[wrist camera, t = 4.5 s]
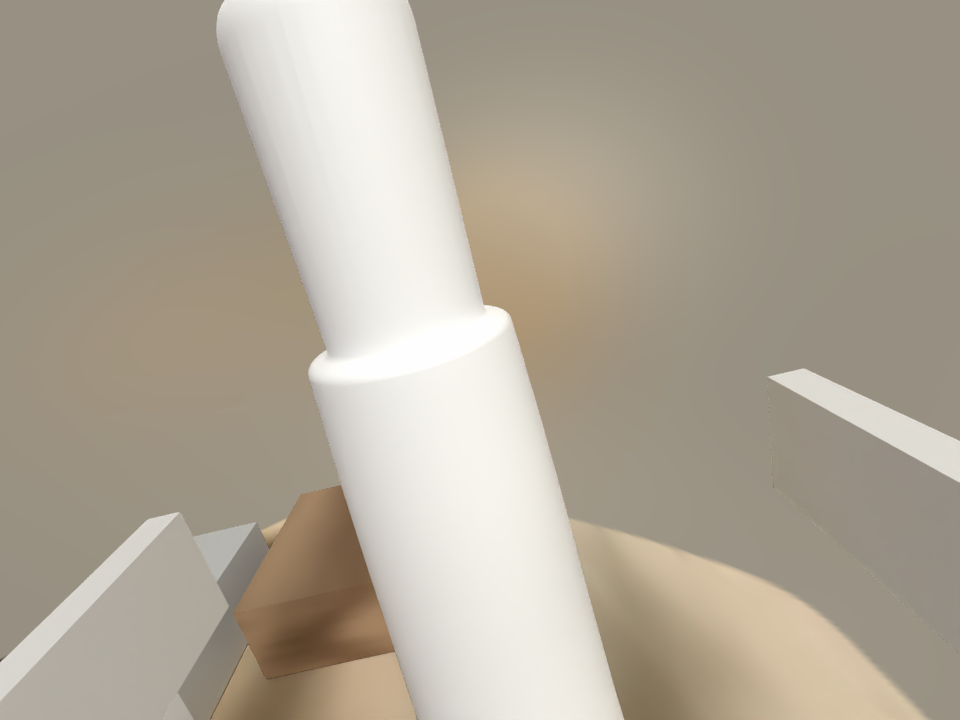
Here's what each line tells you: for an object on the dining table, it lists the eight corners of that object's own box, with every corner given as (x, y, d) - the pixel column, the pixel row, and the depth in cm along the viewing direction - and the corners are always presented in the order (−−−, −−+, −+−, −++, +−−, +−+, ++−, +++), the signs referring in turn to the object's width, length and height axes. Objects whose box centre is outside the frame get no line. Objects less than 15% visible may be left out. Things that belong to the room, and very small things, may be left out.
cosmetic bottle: (434, 1018, 11) (-148, -83, 5) (494, 744, 17) (264, 54, 10) (709, 1121, 9) (375, -558, 3) (675, 771, 15) (539, -67, 8)
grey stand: (5, 775, 20) (-49, 711, 19) (142, 607, 29) (111, 555, 27) (202, 733, 20) (161, 665, 19) (281, 575, 28) (256, 522, 27)
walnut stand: (266, 679, 22) (232, 613, 20) (322, 546, 30) (300, 494, 29) (455, 638, 21) (431, 569, 20) (457, 515, 30) (441, 462, 29)
